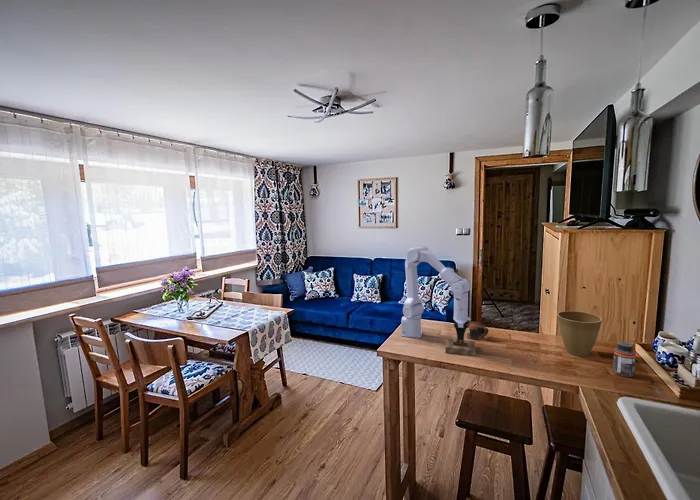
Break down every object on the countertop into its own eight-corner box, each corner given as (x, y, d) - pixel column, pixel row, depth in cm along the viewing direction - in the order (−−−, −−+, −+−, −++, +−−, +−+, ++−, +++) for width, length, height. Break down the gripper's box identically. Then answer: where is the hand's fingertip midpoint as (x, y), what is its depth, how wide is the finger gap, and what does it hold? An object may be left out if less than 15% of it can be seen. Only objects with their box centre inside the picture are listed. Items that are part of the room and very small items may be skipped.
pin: (456, 343, 139) (456, 327, 138) (457, 340, 142) (457, 325, 141) (463, 344, 138) (463, 328, 137) (464, 342, 141) (464, 326, 140)
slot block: (445, 352, 138) (445, 347, 137) (446, 343, 147) (446, 338, 147) (475, 356, 134) (475, 350, 133) (474, 346, 143) (474, 341, 143)
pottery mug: (460, 337, 155) (462, 320, 158) (473, 342, 159) (474, 325, 162) (482, 338, 145) (483, 320, 148) (494, 343, 149) (496, 326, 152)
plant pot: (570, 343, 143) (572, 308, 142) (607, 356, 130) (610, 318, 128) (547, 349, 138) (549, 313, 136) (584, 364, 124) (586, 324, 122)
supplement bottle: (612, 368, 121) (614, 339, 119) (633, 372, 117) (636, 343, 116) (612, 374, 116) (614, 344, 115) (634, 379, 112) (636, 348, 111)
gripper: (471, 313, 130) (470, 345, 132) (470, 303, 144) (469, 332, 145) (453, 312, 132) (452, 343, 134) (453, 302, 146) (453, 331, 147)
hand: (460, 337), depth 140 cm, fingers closed on pin, 3 cm apart
